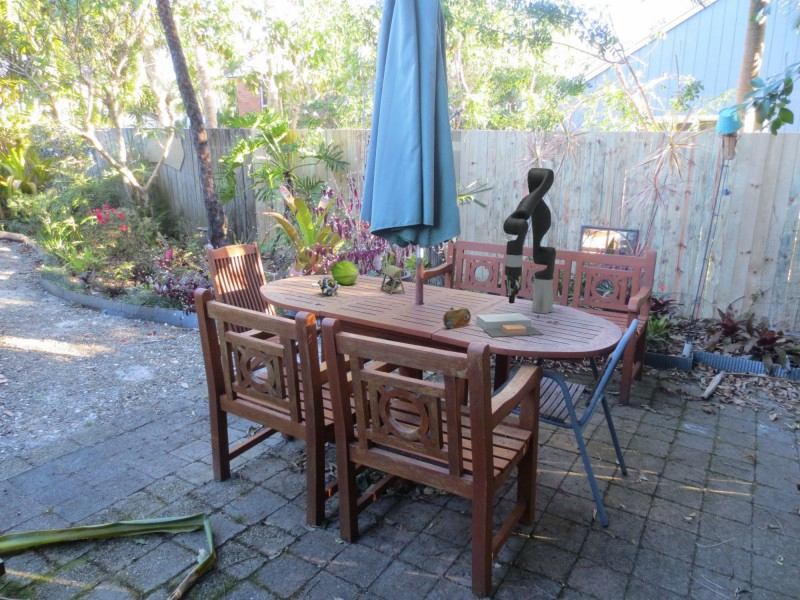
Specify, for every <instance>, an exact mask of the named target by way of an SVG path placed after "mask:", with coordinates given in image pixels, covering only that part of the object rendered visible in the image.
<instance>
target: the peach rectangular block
mask: <svg viewBox="0 0 800 600" xmlns="http://www.w3.org/2000/svg"><path fill="white" fill-rule="evenodd" d="M526 329H527V328H525V327H524V326H522V325H521V324H520V325H502V331H503V332H504V333H505V334H507V335H511V334H526Z"/></svg>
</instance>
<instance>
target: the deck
mask: <svg viewBox="0 0 800 600" xmlns="http://www.w3.org/2000/svg"><path fill="white" fill-rule="evenodd" d="M475 322H476V325H478V326H479V327H480V328H481V329H483V331H484V330H493V329H502V325H520V324H521V325H522V326H524V327H525V328H532V319H531V318H529V317H527V316H525V314H523V313H520V312H519V313H518V312H517V313H496V314H495V313H493V314H476V320H475Z"/></svg>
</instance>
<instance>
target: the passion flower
mask: <svg viewBox="0 0 800 600" xmlns="http://www.w3.org/2000/svg"><path fill="white" fill-rule="evenodd" d="M317 284H318V285H319V287H320V290H321V293H322V294H324V292H325V293H326V294H327V295H328V296H330V295H331V296H332V297H334V296H335V293H337V294H338V293H339V289H338V288H340V287H341V284H339V283H338V282H337V281H335V279H334V278H333V276H331V277H329V276H327V275H324V277H323V279H322V280H321V279H319V280H318V281H317Z"/></svg>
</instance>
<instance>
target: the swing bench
mask: <svg viewBox="0 0 800 600" xmlns="http://www.w3.org/2000/svg"><path fill="white" fill-rule="evenodd" d="M406 271H407V270H406V269H404V268H400V267H398V266H396V265H393V264H392V265H391V264H390V265H387V266H385V267H384V268H383V269H382V270H381V271H380V273H381V274H383V275H384V276H383V279H382V281H381V282H380V283H381V286H380V290H381V291H385V292H386V293H389V295H391V296H392V295H393V293H395V292H396V293H397V292H402V293H403V294H406V291H405V287H404V282H403V280H402V277H401V274H400V272H406ZM387 276H388V277H389V280H387V281H386V279H387ZM385 281H386V283H385ZM400 286H401V289H399V287H400ZM385 288H388V289H391V290H390V291H389V290H387V289H385Z"/></svg>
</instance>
